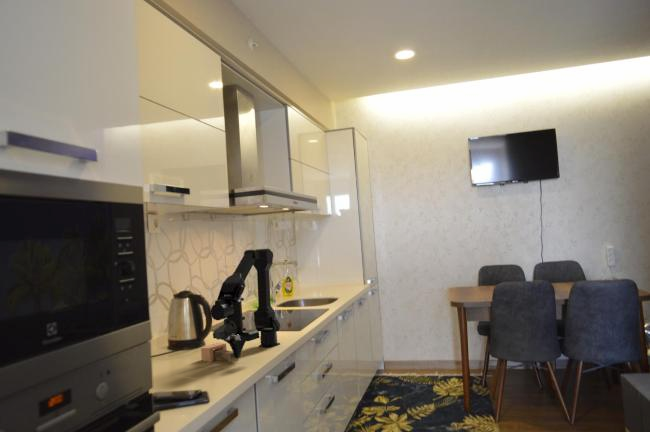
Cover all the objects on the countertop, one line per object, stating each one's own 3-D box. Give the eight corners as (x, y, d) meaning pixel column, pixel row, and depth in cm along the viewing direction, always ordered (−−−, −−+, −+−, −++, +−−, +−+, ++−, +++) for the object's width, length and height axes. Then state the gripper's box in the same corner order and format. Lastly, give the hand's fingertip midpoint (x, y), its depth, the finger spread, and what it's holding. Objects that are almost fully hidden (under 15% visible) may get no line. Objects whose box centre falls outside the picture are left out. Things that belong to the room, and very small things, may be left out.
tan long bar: (238, 360, 174) (238, 351, 174) (232, 362, 171) (231, 353, 171) (212, 356, 183) (211, 348, 183) (205, 358, 180) (205, 350, 180)
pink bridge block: (218, 354, 184) (217, 342, 184) (226, 356, 181) (226, 343, 181) (201, 360, 178) (200, 347, 178) (210, 361, 175) (209, 348, 175)
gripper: (200, 318, 171) (202, 361, 171) (236, 320, 161) (239, 366, 160) (223, 312, 180) (226, 353, 180) (258, 314, 170) (262, 358, 169)
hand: (237, 358), depth 172 cm, fingers closed
